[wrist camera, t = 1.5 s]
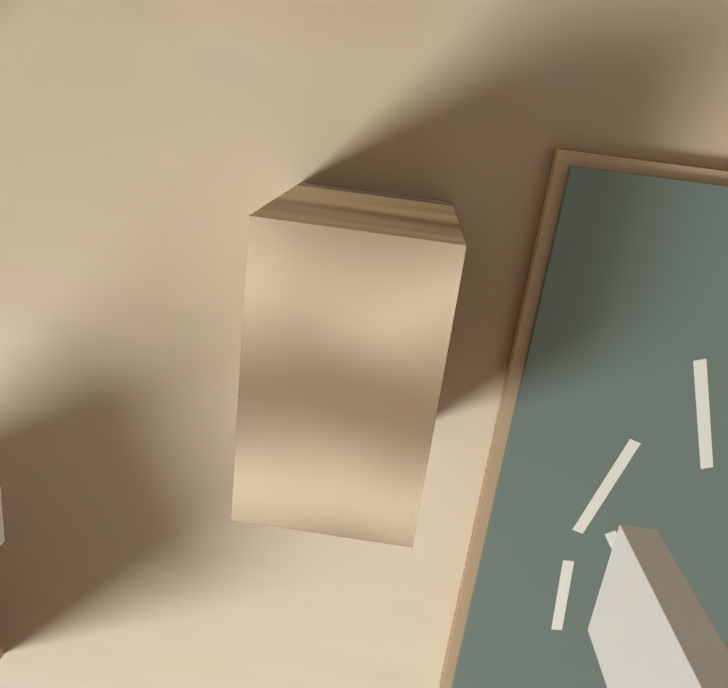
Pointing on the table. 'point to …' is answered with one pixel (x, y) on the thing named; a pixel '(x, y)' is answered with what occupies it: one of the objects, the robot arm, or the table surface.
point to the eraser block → (343, 359)
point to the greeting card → (1, 652)
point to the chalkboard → (602, 419)
